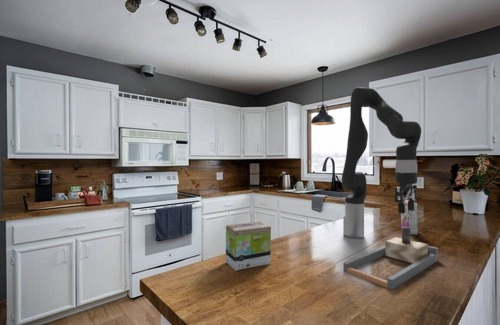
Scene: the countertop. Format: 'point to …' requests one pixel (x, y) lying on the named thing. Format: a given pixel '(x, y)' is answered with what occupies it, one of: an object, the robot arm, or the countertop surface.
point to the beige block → (406, 248)
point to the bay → (396, 278)
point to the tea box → (248, 245)
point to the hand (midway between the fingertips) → (406, 211)
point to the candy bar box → (410, 218)
